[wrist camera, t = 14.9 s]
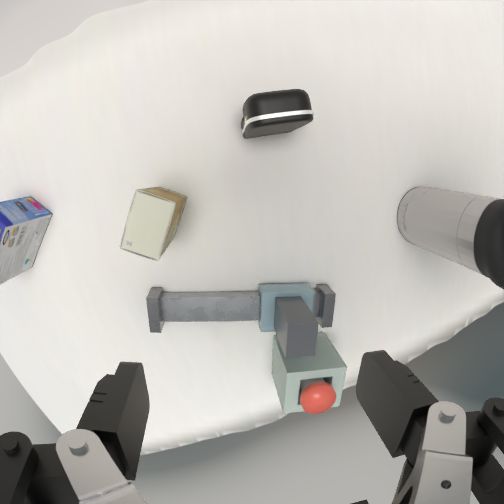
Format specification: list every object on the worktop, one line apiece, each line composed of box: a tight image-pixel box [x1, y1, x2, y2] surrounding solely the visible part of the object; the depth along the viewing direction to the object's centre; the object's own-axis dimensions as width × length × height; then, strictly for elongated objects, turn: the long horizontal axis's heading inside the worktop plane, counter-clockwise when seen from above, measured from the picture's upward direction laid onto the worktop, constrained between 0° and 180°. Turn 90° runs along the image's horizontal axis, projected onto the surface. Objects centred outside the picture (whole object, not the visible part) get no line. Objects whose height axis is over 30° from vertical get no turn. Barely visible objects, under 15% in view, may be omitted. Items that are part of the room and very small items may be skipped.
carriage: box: [258, 283, 318, 358], centre depth 40 cm, size 7×6×11 cm
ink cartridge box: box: [0, 197, 52, 284], centre depth 32 cm, size 10×6×14 cm, turn 147°
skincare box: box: [120, 187, 187, 261], centre depth 35 cm, size 6×4×12 cm
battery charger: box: [241, 89, 313, 138], centre depth 34 cm, size 7×4×11 cm, turn 100°
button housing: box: [272, 332, 347, 413], centre depth 44 cm, size 8×7×10 cm
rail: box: [146, 284, 336, 333], centre depth 44 cm, size 25×5×4 cm, turn 89°
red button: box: [300, 378, 336, 414], centre depth 42 cm, size 5×5×10 cm
